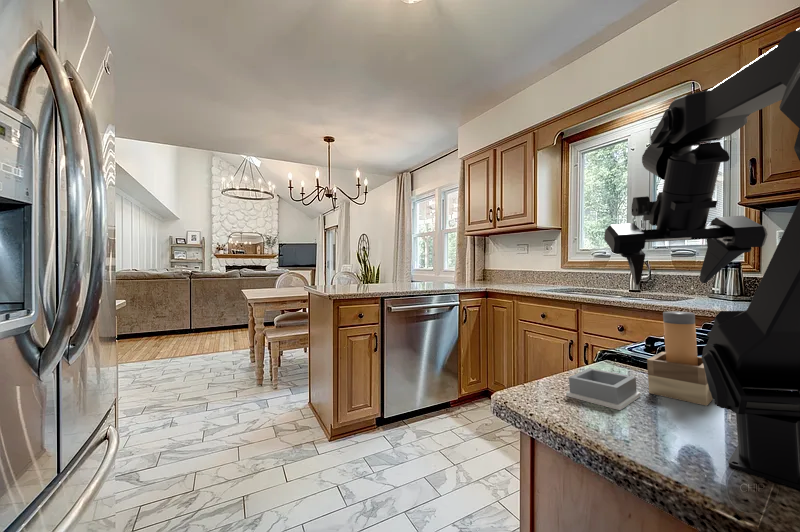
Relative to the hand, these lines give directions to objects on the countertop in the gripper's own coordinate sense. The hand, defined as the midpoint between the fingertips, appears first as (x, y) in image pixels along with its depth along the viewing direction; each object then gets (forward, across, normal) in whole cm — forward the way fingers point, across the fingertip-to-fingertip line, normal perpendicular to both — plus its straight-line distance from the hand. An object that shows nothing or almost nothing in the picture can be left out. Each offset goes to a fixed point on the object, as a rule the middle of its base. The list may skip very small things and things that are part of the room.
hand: (668, 282), depth 56 cm
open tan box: (+16, -1, +8) cm, 18 cm away
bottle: (+13, -1, +7) cm, 15 cm away
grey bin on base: (+14, +11, +11) cm, 21 cm away
